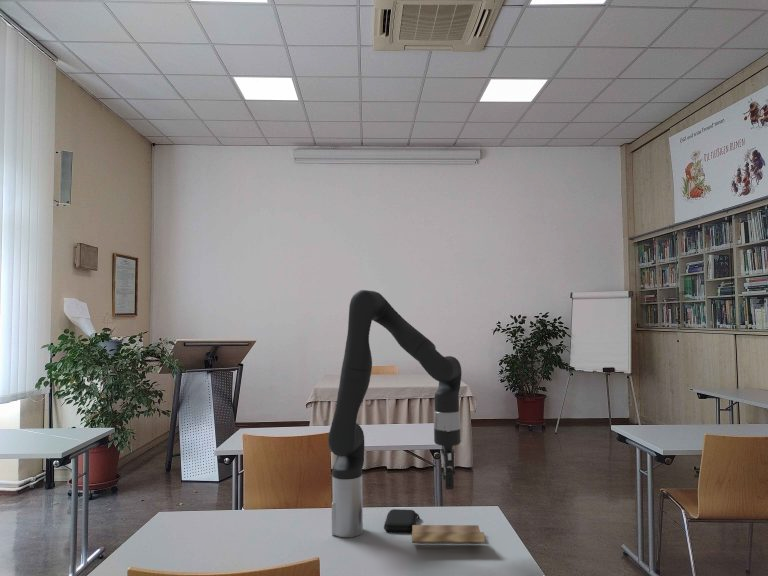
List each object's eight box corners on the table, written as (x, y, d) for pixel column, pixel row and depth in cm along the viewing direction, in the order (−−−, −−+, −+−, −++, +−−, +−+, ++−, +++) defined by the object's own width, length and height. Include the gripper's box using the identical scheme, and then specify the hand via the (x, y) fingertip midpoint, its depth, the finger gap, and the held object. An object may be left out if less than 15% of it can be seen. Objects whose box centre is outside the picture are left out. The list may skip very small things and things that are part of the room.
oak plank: (412, 541, 150) (412, 531, 151) (412, 542, 157) (412, 533, 158) (484, 541, 149) (483, 532, 150) (481, 543, 156) (480, 534, 157)
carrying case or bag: (417, 535, 164) (420, 517, 179) (417, 525, 164) (420, 508, 179) (383, 534, 166) (388, 516, 180) (382, 524, 166) (388, 507, 180)
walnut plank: (412, 541, 159) (412, 532, 159) (412, 533, 165) (412, 525, 165) (480, 541, 158) (480, 533, 158) (478, 533, 164) (478, 525, 164)
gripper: (432, 421, 162) (433, 476, 161) (435, 432, 148) (436, 492, 147) (457, 421, 162) (458, 476, 161) (462, 431, 148) (464, 492, 147)
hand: (448, 484), depth 154 cm, fingers open, 8 cm apart
